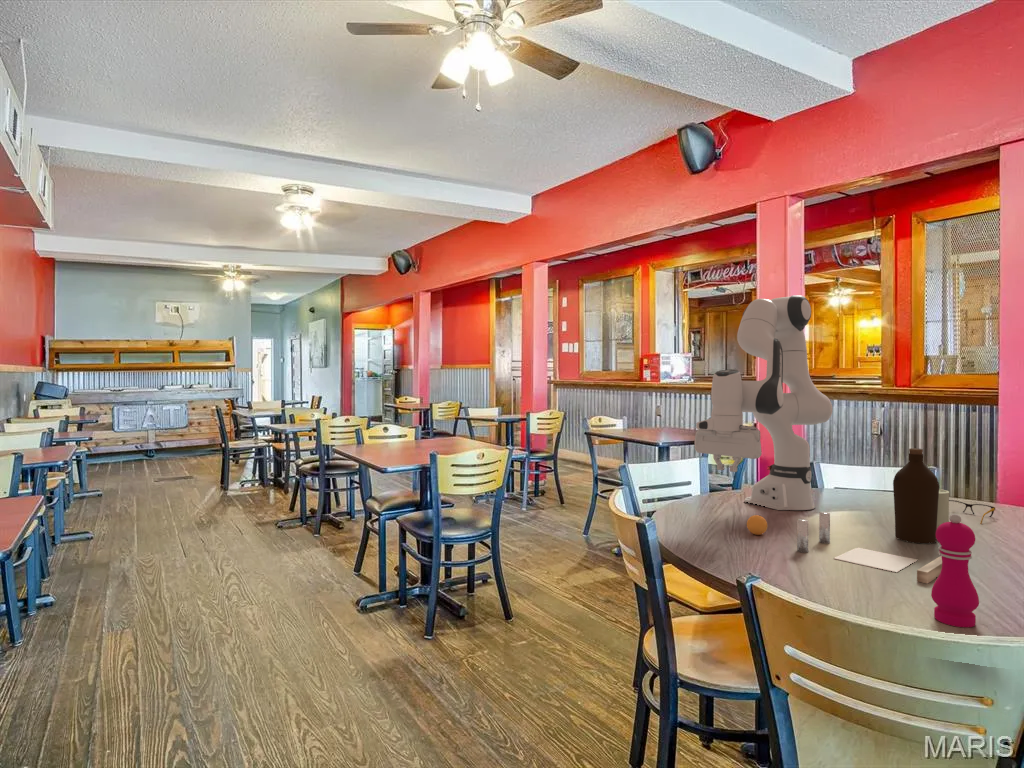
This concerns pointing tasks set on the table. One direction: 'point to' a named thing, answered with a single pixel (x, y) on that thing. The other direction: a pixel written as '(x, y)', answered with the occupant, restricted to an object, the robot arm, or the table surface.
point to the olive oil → (916, 500)
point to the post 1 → (802, 535)
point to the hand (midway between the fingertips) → (727, 470)
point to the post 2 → (824, 527)
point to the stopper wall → (930, 571)
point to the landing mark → (876, 559)
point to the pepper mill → (955, 575)
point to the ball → (757, 524)
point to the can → (943, 507)
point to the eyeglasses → (977, 504)
